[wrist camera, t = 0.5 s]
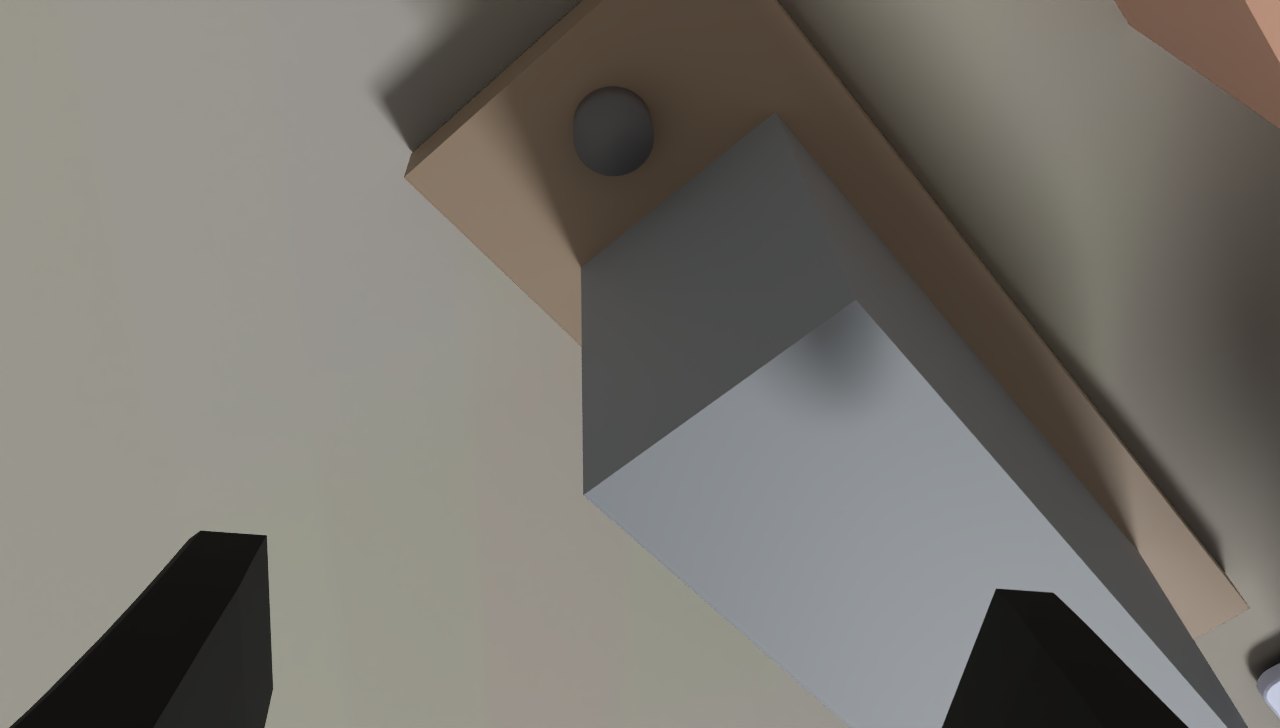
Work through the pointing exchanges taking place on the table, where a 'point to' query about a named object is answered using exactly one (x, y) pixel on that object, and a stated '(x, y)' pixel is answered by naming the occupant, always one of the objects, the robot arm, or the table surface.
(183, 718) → the robot arm
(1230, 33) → the terracotta block
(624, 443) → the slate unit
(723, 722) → the table surface
